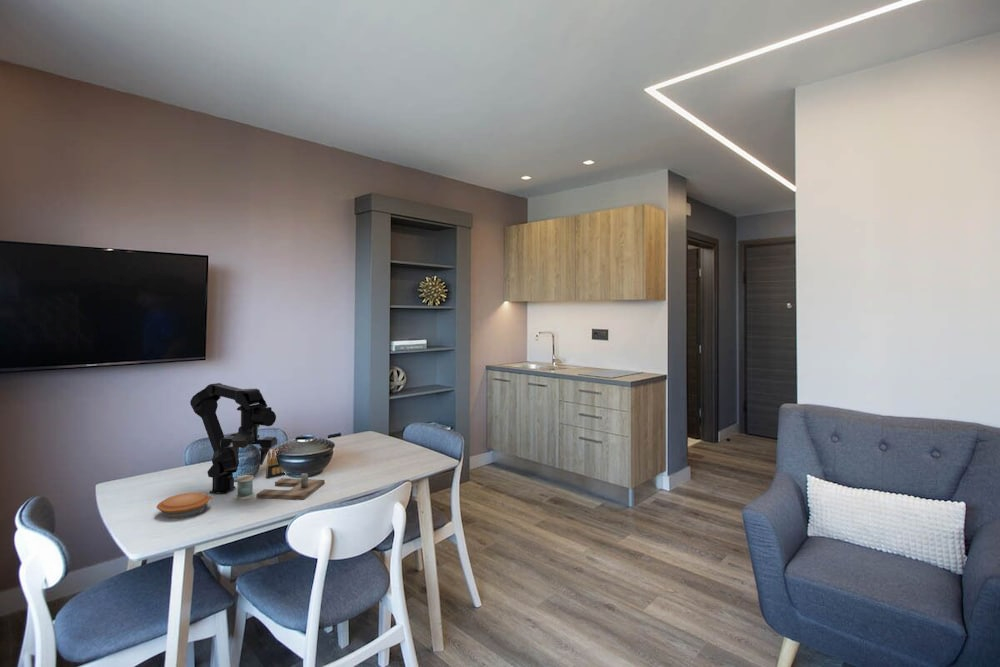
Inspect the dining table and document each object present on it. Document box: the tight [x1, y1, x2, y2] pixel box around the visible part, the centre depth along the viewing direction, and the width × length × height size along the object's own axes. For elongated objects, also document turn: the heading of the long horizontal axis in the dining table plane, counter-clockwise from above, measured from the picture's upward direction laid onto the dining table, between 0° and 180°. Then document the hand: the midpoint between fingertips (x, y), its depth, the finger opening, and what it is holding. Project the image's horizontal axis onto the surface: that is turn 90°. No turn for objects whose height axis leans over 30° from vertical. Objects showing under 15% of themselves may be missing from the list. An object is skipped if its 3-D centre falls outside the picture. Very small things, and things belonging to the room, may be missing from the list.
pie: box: [156, 492, 212, 519], centre depth 167 cm, size 15×16×5 cm
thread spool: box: [235, 474, 255, 500], centre depth 182 cm, size 6×6×7 cm
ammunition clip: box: [265, 445, 292, 479], centre depth 207 cm, size 11×2×12 cm, turn 136°
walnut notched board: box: [255, 472, 326, 501], centre depth 189 cm, size 18×18×6 cm
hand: (248, 464), depth 182 cm, fingers open, 9 cm apart
